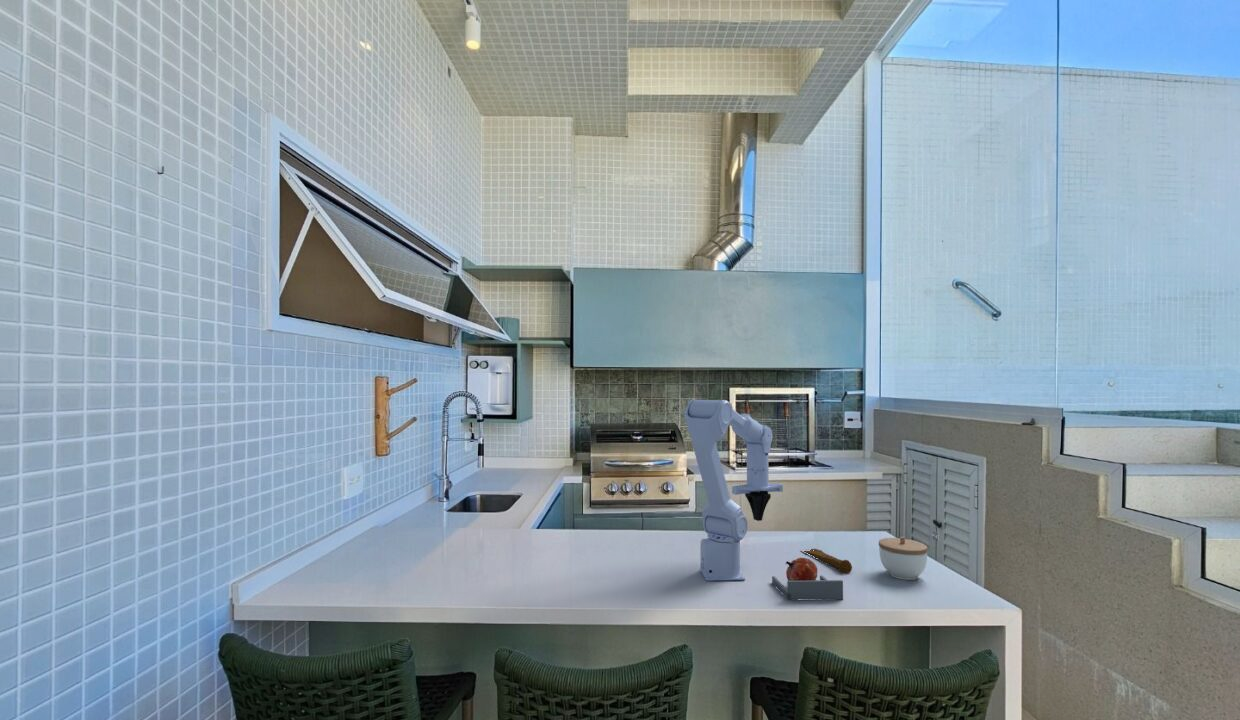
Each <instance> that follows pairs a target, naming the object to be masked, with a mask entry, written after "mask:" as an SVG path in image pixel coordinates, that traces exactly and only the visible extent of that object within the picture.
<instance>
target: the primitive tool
mask: <svg viewBox="0 0 1240 720" xmlns="http://www.w3.org/2000/svg"><path fill="white" fill-rule="evenodd" d="M809 550H810V549H809ZM813 550H814V551H813ZM804 552H806V553H808V554H810V555H812V556H814V557H815V558H818V559H819V560H818V559H817V560H818V561H820V560H821V561H820V562H822V561H823V562H822V563H824V562H825V563H824V564H826V563H827V564H826V565H828V564H829V565H828V566H830V565H831V566H830V567H832V568H834V569H837V570H838V571H839V572H840V574H850V573H851V571H852V569H853V566H852V563H851V562H850V561H849V559H843V560H842V559H839V558H837V557H834V556H833V555H830V554H828V553H825V552H824V551H822V550H821V549H817V548H811V550H810V551H804ZM815 558H814V559H815ZM849 572H850V573H849Z"/></svg>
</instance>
